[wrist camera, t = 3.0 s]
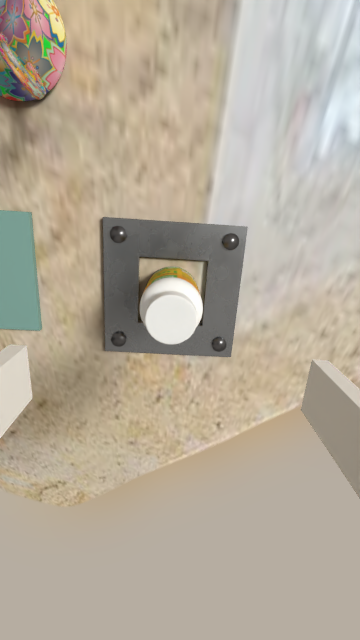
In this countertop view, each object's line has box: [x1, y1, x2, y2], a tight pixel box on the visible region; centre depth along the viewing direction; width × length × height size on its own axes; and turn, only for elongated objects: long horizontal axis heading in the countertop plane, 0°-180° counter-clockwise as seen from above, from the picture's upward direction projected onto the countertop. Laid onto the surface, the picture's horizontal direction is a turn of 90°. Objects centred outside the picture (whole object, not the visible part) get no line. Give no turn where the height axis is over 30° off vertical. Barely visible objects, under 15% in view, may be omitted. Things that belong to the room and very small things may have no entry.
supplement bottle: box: [140, 267, 203, 344], centre depth 27 cm, size 5×5×10 cm
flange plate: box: [103, 217, 247, 357], centre depth 31 cm, size 14×14×1 cm
